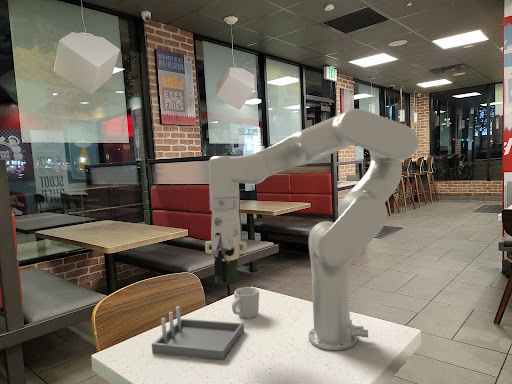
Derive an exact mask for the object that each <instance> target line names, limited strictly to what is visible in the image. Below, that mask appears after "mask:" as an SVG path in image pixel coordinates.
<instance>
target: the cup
mask: <svg viewBox="0 0 512 384" xmlns="http://www.w3.org/2000/svg"><path fill="white" fill-rule="evenodd" d="M233 293H234V294H233V295H234V300H233V302H232V304H231V309H232V314H234V315H238V317H240V318H243V319H252V318H255V317H256V316H258V314H259V309H260V308H259V306H260V304H259V303H260V290H259V288H257V287H253V286H246V287H245V286H244V287H239V288H236V289H235V291H233Z"/></svg>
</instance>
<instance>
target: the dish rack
mask: <svg viewBox="0 0 512 384" xmlns="http://www.w3.org/2000/svg"><path fill="white" fill-rule="evenodd" d="M175 311H176V312H175V313H176V322H175V323H174V313H173V311H169V312H168V318H169V328H168V330H167V324H166V323H167V322H166V317H161V329H162V330H161V332H162V335H160V336H158V338H157V339H156V340H154V341H153V342H152V343H151V352H152V354H156V355H166V356H172V357H173V356H174V357H184V358H192V359H203V360H211V361H220V362H223V361H225V359H226V358H227V356H228V355H229V354H230V352H231V351H232V350H233V348H234V347H235V345H237V343H238V341H239V339H241V337H242V336H243V334H244V332H245V325H244V323H242V322H229V321H219V320H218V321H214V320H204V319H203V320H202V319H190V318H181V307H180V306H179V305H178V306H176V307H175Z"/></svg>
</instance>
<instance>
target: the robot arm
mask: <svg viewBox="0 0 512 384" xmlns="http://www.w3.org/2000/svg"><path fill="white" fill-rule="evenodd" d="M354 145H355V146H357V147H360V148H363V149H365V150H367V151H368V152H369V155H370V156H369V157H370V164H369V167H368V169H367V171H366V172H365V174H363V177H361V179H360V180H359V181H358V182H357V183H356V184H355V185H354V186H353V187H352V189H351V190H349V191H348V193H347V194H345V196H344V197H343V198H342V199H341V200H340V202H339V204H338V205H337V206H338V207H337V213H338V218H337V219H336V220H335V222H333V221H330V220H329V221H327V220H326V221H325V220H324V221H321V222H320V221H319V222H318V223H317V224H315V225H314V226H313V227H312V229H311V230H310V232H309V235H308V250H309V252H308V253H309V258H310V268H311V271H310V272H311V289H312V290H311V291H312V309H313V310H312V311H313V313H312V314H313V328H312V329H311V330H310V331H309V333H308V340H309V341H308V342H310V344H312V345H313V346H314V347H316V348H320V349H323V350H326V351H327V350H328V351H340V350H342V351H343V350H347V349H349V348H351V347H353V346H355V344H356V343H357V342H358V340H357V339H358V337H360V338H369V329H364V328H365V327H364V325H355V324H353V320H352V319H351V309H350V291H349V288H350V287H349V282H350V280H349V267H348V265H349V264H351V263H352V262H354V261H355V259H356V258H357V257H358V256H359V255H360V254H361V253H362V252H363V251H364V250H365V249H366V248H367V247H368V245H370V243H371V242H372V241H373V240H374V239H375V238H376V237H377V236H378V235H379V233H380V232H381V231H382V230H383V228H384V226H385V225H386V222H387V218H388V208H387V206H386V204H385V203H386V202H387V201H388V200H389V199H390V197H391V196H392V195H393V193H395V191H396V190H397V188H398V186H399V185H400V183H401V178H402V174H403V166H402V165H403V163H402V161H406V160H408V159H410V158H411V157H413V156H414V154H415V153H416V152H417V150H418V146H419V137H418V135H417V134H416V132H415V130H413V129H412V128H411V127H409V126H408V125H406V124H404V123H401V122H398V121H396V120H393V119H390V118H387V117H384V116H382V115H379V114H376V113H373V112H371V111H368V110H365V109H361V108H350V109H348V110H346V111H344V112H341V113H339V114H338V115H335V116H333V117H331V118H328V119H325V120H323V121H320V122H319V123H315V124H314V125H312V126H309V127H307V128H304V129H302V130H299V131H297V132H295V133H293V134H291V135H290V136H288V137H287V138H285V139H283V140H281V141H280V142H278V143H276V144H273V145H271V146H269V147H267V148H264V149H262V150H259V151H257V152H255V153H252V154H247V155H240V156H233V155H214V156H211V157H210V158H209V161H208V182H209V211H211V220H210V221H211V222H210V223H211V227H210V230H211V232H210V239H211V240H210V241H211V242H212V245H211V250H212V252H213V254H212V257H213V256H214V258H213V261H214V263H213V264H214V277H215V276H221V277H226V276H227V261H225V260H226V253H227V250H231V249H233V248H234V247H233V236H235V235H237V234H239V241H242V235H241V234H242V233H241V222H240V221H241V219H240V214H239V210H240V189H239V188H240V187H239V186H240V184H247V185H258V184H261V183H262V182H263V181H265V180H266V179H267V178H270V177H271V176H274V175H276V174H278V173H281V172H284V171H286V170H289V169H291V168H296V167H299V166H300V167H301V166H305V165H307V164H312V162H316V161H317V160H321V159H322V158H326V157H328V156H329V155H332V154H334V153H336V152H339V151H341V150H344V149H346V148H349V147H351V146H354ZM221 242H222V244H223V246H224V248H219V246H220V243H221ZM219 251H223V255H222V254H221V252H219ZM235 262H236V265H237V266H238V258H237V259H235Z"/></svg>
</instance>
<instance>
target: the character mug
mask: <svg viewBox="0 0 512 384" xmlns="http://www.w3.org/2000/svg"><path fill="white" fill-rule="evenodd" d="M204 245H205V246H204V247H205V250H204V251H205V253H206V254H209V255H210V254H212V258H213V259H214V256H213V252H212V249H210V246H212V242H211V240H206V241H205V243H204ZM240 246H242V249H240ZM233 247H234V248H233V249H231V250H227V253H226V260H225V261H227V276H226V277H221V276H215V275H214V283H215V284H217V285H220V286H223V285H224V283H226V284H225V285H226V286H231V285H235V284H238V282H239V281H240V279H239V272H238V264H237V265H236V262H235V259H237V260H238V259H239V258H240V254H241V255H242V254H243V255H245V254H247V252H248V251H247V250H248V243H247V241H246V240H241V241H239V234H237V235H235V236H233ZM219 248H224V246H223V244H222V242H221V243H220V246H219ZM219 252H221V254H222V255H223V251H219Z"/></svg>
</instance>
